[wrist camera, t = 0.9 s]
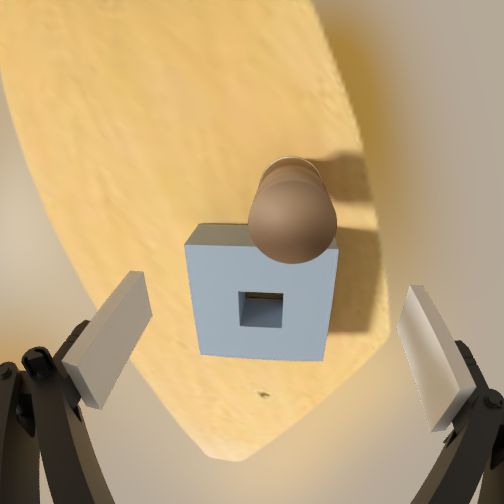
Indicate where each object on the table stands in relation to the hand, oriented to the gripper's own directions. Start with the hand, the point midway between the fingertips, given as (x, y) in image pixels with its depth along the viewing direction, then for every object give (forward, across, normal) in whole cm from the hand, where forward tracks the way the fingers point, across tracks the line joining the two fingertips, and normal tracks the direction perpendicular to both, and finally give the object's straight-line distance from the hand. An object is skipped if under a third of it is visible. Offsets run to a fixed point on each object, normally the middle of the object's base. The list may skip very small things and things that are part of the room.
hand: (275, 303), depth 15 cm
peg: (+23, +1, +1) cm, 23 cm away
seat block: (+22, -2, -13) cm, 26 cm away
